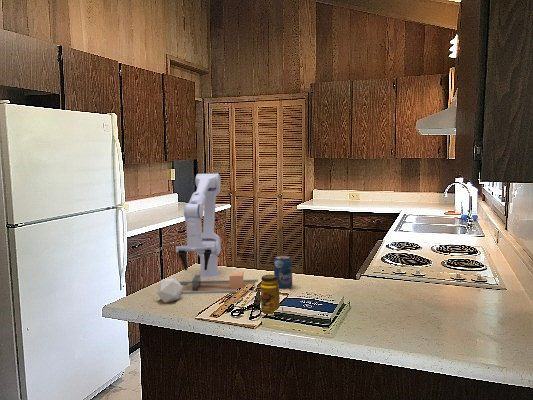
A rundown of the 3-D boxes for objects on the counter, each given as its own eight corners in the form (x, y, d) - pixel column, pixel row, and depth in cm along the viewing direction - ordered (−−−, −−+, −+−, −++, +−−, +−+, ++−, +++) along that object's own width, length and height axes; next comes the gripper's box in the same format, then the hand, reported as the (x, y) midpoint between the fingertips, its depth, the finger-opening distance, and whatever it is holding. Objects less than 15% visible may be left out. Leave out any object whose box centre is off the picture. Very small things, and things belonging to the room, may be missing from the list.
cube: (230, 285, 175) (230, 272, 174) (243, 284, 175) (243, 272, 174) (229, 288, 170) (229, 275, 169) (242, 288, 170) (242, 275, 169)
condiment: (258, 316, 141) (257, 279, 140) (261, 307, 150) (260, 272, 149) (281, 316, 141) (280, 279, 140) (283, 307, 149) (282, 272, 148)
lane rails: (168, 284, 180) (168, 281, 180) (257, 282, 180) (257, 279, 179) (160, 295, 165) (159, 292, 165) (257, 293, 165) (257, 290, 165)
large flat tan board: (195, 284, 178) (194, 273, 178) (255, 283, 178) (254, 272, 178) (190, 293, 166) (189, 282, 166) (254, 292, 166) (254, 280, 166)
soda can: (281, 291, 166) (281, 260, 165) (270, 287, 172) (270, 256, 171) (296, 287, 170) (295, 257, 169) (284, 284, 176) (284, 254, 175)
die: (178, 297, 165) (161, 277, 164) (191, 289, 160) (174, 269, 159) (165, 311, 159) (147, 290, 158) (178, 303, 154) (160, 282, 153)
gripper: (173, 237, 166) (175, 272, 167) (212, 236, 166) (213, 271, 167) (177, 233, 173) (178, 268, 174) (214, 232, 173) (215, 267, 174)
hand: (195, 269), depth 171 cm, fingers open, 7 cm apart
